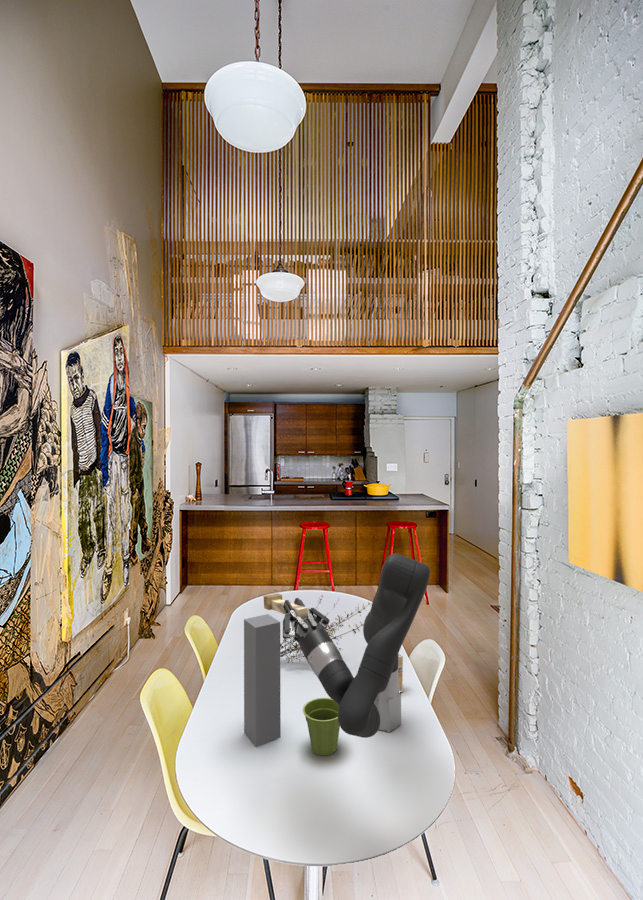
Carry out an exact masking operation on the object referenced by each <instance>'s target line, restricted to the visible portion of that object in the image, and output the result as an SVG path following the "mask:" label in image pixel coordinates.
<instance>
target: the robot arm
mask: <svg viewBox="0 0 643 900" xmlns="http://www.w3.org/2000/svg"><path fill="white" fill-rule="evenodd" d="M430 577H431V569H430V566H429V565H428V564H425V563H423V562H421V561H418V560H416V559H413V558H410V557H408V556H405V555H404V554H403V555H402V554H401V553H392V554H390V555H388V556H387V558H386V559H385V561H384V562H383V565H382V568H381V571H380V575H379V581H378V588H377V590H376V592H375V594H374V596H373V599H372V602H371V603H372V604H371V606H370V611H369V612H368V613H367V615H366V616H365V619H364V622H363V624H364V626H362V631H363V638H364V641H365V642H366V644H367V645H366V647H365V649H364V653H363V656H362V658H361V661H360V664H359V666H358V670H357V672H356V675H355V676H354V675H353V673H352V672H351V670H350V668H349V667H348V665H347V664H346V661H345V660H344V659H343V657H342V654H341V651H340V649H339V648H338V647H337V646H336V644H335V642H334V641H333V639H332V637H331V636H329V635H328V633H327V632H328V630H325V629H328V625H330V624H329V623H330V619H329V618H328V616H326V615H325V614H322V612H320V611H318V609H317V608H315V607H311V608H308V607H306V605H305V604H304V602H303V600H301V598H299V597H296V598H294V601H293V603H294V604H296V605H299V606H303V607H306V608H307V610H308V614H307V618H304V619H303V620H302V619H301V617H300V616H297V614H296V613H295V612H294V611H293V610H294V609H293V607H292V605H291V604H290V603H291V602H290V600H289V599H286V600H284V601H285V603H284V605H283V608H284V610H285V612H286V614H284V617H283V620H282V638H283V640H284V639H285V640H288V638H287V637H290V638H293V639H295V640H296V643H297V644H299V646H298V647H300V649H301V650H300V651H301V653H302V652H303V653H302V655H303V656H305V657H304V658H305V659H306V661H307V663H308V666H310V669H311V670H312V672H313V673H314V675H315V676H316V677H317V679H318V680H319V682H320V684H321V685H322V688H323V689H324V692H325V693H326V694H327V696H328V698H331V699H333V700H334V701H335V702H337V703H338V704H339V710H338V722H339V725H340V729H341V730H342V731H343V732H344V733H346V734H347V735H349V736H355V737H360V738H366V739H367V738H372V737H373V736H374V735H376V733H378V731H385V732H388V733H390V732H392V731H394V729H396V728H398V727H399V726H400V725H402V693H399V692H398V653H400V650H401V648H402V646H403V643H404V641H405V639H406V637H407V635H408V632H409V630H410V628H411V626H412V625H413V621H414V620H415V617H416V614H417V612H418V610H419V607H420V606H421V604H422V601H423V598H424V596H425V594H426V591H427V588H428V584H429V581H430ZM325 616H326V617H325ZM292 627H293V631H292ZM295 640H294V641H295Z"/></svg>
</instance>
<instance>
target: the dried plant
mask: <svg viewBox="0 0 643 900" xmlns="http://www.w3.org/2000/svg"><path fill="white" fill-rule="evenodd" d="M322 599H323V594H321V598H320V597H318V600H317V602H318V605H317V606H316V607H315V609H319V608H318V606H319V604H321V602H322ZM339 601H340V598H337V602H339ZM367 603H368V604H367V606H369V605H372V602H369V601H368V602H367ZM357 604H358V606H357V608H355V611H352V612H351V613H350V614H349V613H347V612H346V611H344V613H345V614H346V617H345V618H343V617H341V616H340V615H339V614H337V617H338V618H334V620H336V621H338V622H336V621H333V622H331V623H330V624H328V626H327V628H326V629H325V630H326V631H327V633H328V635H329V636H330V638H331V639H332V640H335V641H336V640H337V641H339V639H342V636H343V635H344V636H345V635H346V634H348V633H351V632H353V635H354V636H355V634H357V631H356V630H358V632H360V631H361V630H360V629H359V628H360V627H364V623H362V622H361V621H359V623H360V625H359V626H358V625H357V624H356V623H354V626H355V628H352V627H351V625H350V624H348V627H349V628H350V629H351V628H352V629H351V630H349V631H347V632H345V633H342V634H340V635H335V634H336V631H337V630H338V631H340V629H341V628H342V627H344V624H343V623H344V622H345V621H347V620H348V621H349V620H350V618H352V617H354V616H356V615H357V614H359V616H360V617H361V616H362V615H361V613H362V611H363V610H366V606H365V605H364V603H363V604H362V609H361V610H359V609H360V607H359V606H360V605H359V602H358V603H357ZM335 607H336V604H333V608H335ZM330 611H331V612H332V611H333V609H332V610H330ZM355 612H356V613H355ZM327 615H329V612H327V614H326V615H324V616H325V617H327ZM302 620H303V619H302ZM291 629H292V631H293V632H294V628H293V627H292V626H291ZM334 635H335V636H334ZM289 640H290V641H289ZM282 641H283V642H282V643H281V642H280V650H282V651H280V659H281V658H283V657H284V656H285V657H286V658H285V659H286V661H287V660H288V661H287V662H286V663H287V664H289V663H290V661H291V663H294V662H293V660H295V659H296V660H299V663H300V662H302V661H301V658H305V656H304V654H303V652H302V651H301V649H300V646H299V643H298V642H297V641H296V640H295V639H294V638H293V637H287V639H284V638H283V640H282ZM337 641H336V644H337V645H339V643H338V642H337ZM283 644H284V645H283ZM287 646H288V647H287ZM283 649H284V650H283ZM338 650H342V651H343V650H344V649H342V648H339V647H338ZM292 652H293V654H292ZM294 653H295V654H294ZM290 654H292V655H290ZM300 657H301V658H300ZM296 663H298V661H296Z"/></svg>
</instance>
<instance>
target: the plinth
mask: <svg viewBox="0 0 643 900" xmlns="http://www.w3.org/2000/svg"><path fill="white" fill-rule="evenodd" d="M280 643H281V621H279V620H278V619H276V618H275V617H273V616H272V615H270V614H268V613H267V614H262V615H257V616H253V617H248V618H244V619H243V702H244V703H243V720H244V721H243V727H244V728H243V733H244V734H245V736H246V737H247V738H248V740H249V741H250V742H251V743H252V744H253V745H254V747H255V748H257V747H259V746H262V745H266V744H267V743H270V742H273V741H274V740H278V739H280V738H281V657H280V655H281V654H280V652H281V647H280V645H281V644H280Z"/></svg>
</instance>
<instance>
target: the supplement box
mask: <svg viewBox="0 0 643 900" xmlns="http://www.w3.org/2000/svg"><path fill="white" fill-rule="evenodd" d="M403 658H404V657H403V655H402V653H400V652H399V653H398V692H399V691H402V692H403V681H404V679H403V676H404V675H403V669H404V667H403V665H404V664H403V663H404V662H403V660H404V659H403Z"/></svg>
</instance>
